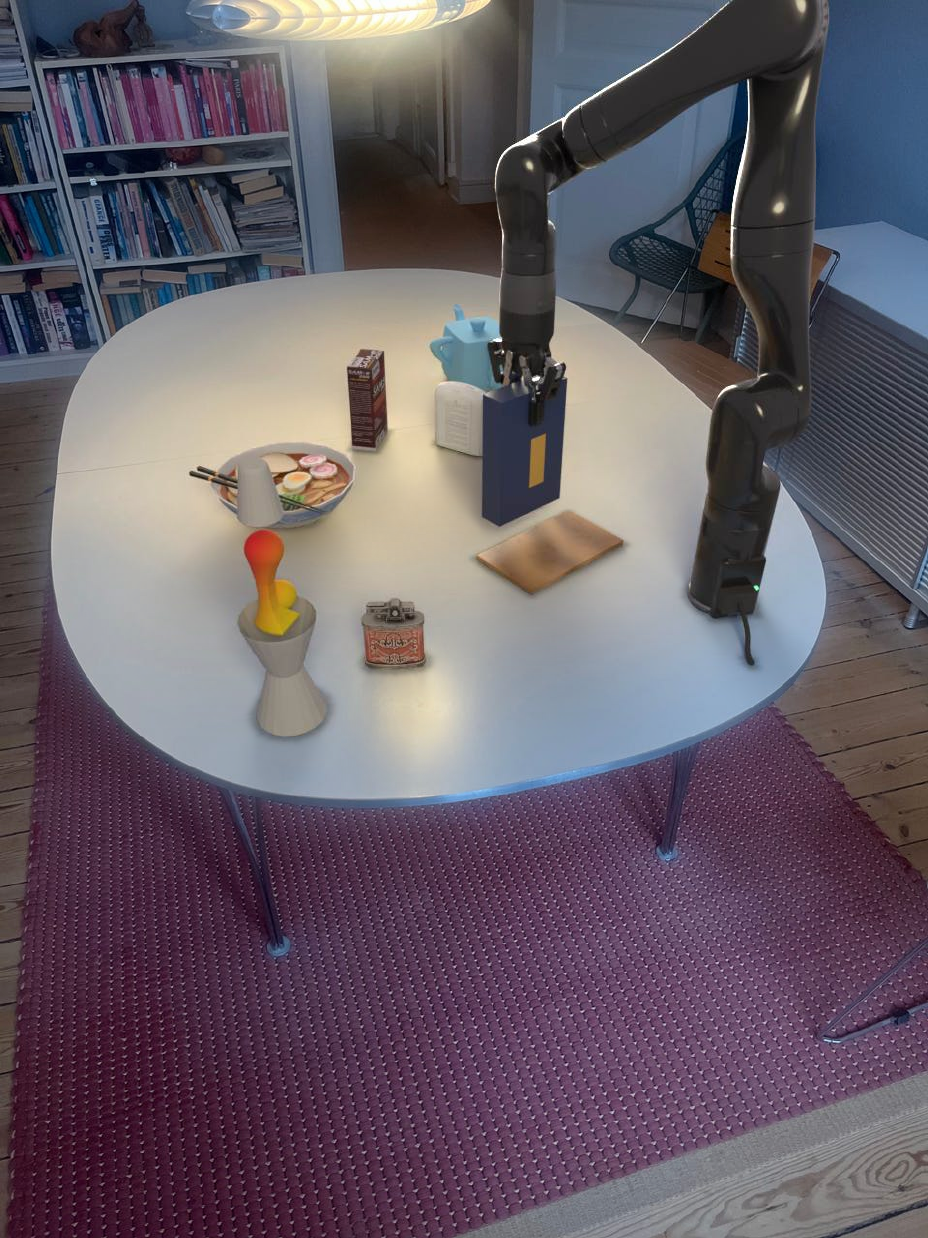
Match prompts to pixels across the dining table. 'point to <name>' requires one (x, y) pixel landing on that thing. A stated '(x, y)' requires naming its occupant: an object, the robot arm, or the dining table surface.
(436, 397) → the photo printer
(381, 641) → the lighter
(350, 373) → the supplement box
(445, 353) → the teapot
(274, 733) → the lava lamp
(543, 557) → the cork mat
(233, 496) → the ramen bowl
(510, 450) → the book
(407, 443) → the dining table surface
